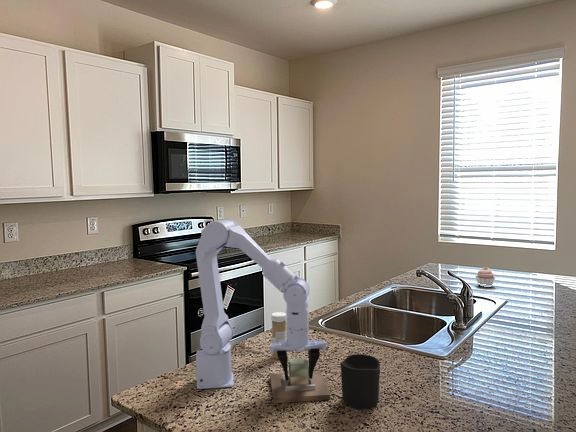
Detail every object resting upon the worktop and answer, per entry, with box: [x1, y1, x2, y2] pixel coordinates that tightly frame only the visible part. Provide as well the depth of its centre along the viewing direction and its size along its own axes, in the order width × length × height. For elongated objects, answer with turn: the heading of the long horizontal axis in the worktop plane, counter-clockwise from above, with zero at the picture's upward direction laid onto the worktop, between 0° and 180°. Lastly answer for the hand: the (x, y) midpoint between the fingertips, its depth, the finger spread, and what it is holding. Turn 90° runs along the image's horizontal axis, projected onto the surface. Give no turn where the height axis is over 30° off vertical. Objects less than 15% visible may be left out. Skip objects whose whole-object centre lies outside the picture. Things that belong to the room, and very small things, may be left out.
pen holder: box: [340, 353, 381, 410], centre depth 109 cm, size 9×9×10 cm
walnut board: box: [269, 370, 331, 404], centre depth 117 cm, size 14×14×2 cm
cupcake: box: [475, 266, 496, 286], centre depth 222 cm, size 9×9×10 cm
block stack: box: [288, 357, 309, 386], centre depth 117 cm, size 4×4×6 cm
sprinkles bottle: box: [271, 311, 287, 360], centre depth 138 cm, size 5×5×14 cm
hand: (298, 377), depth 117 cm, fingers open, 6 cm apart
